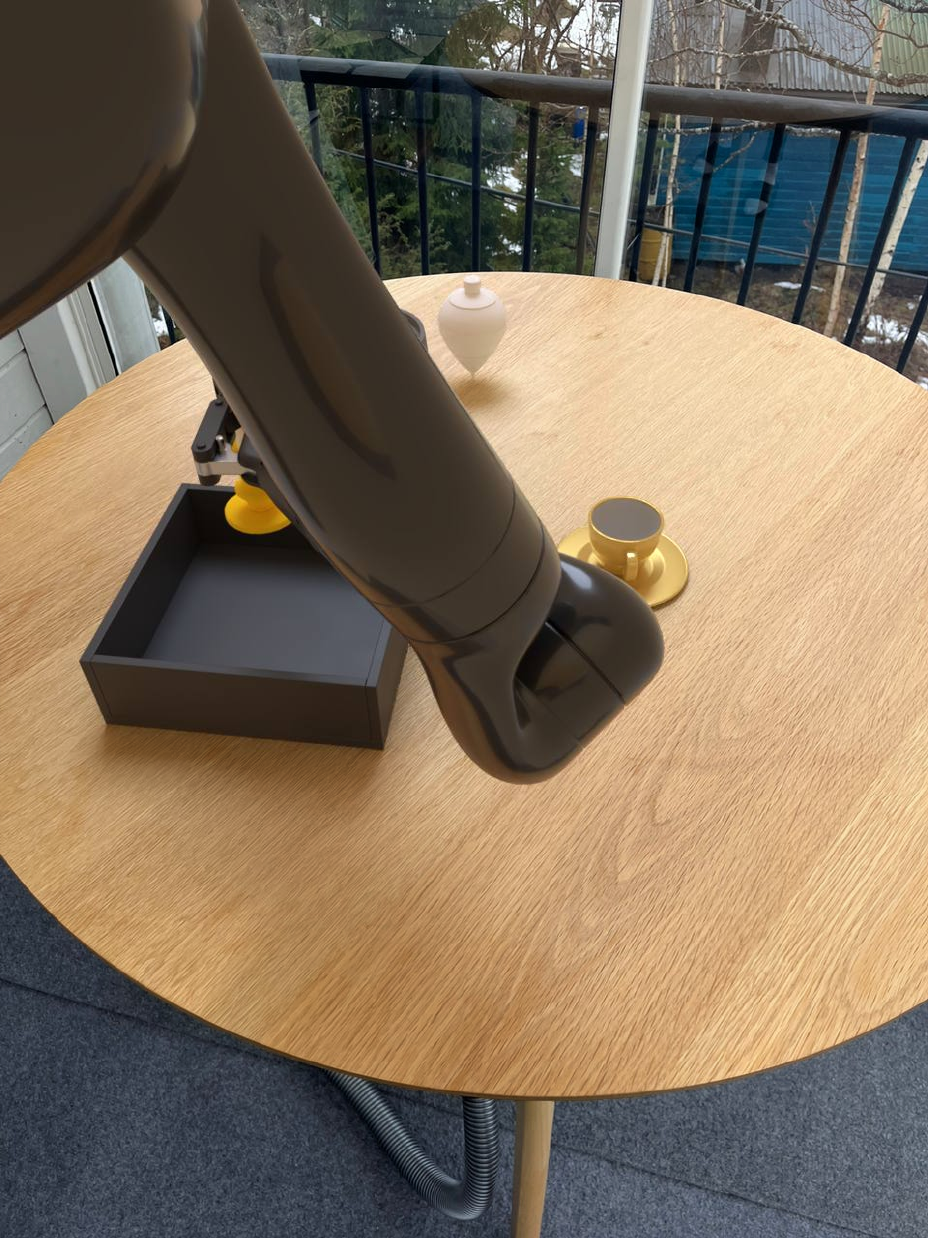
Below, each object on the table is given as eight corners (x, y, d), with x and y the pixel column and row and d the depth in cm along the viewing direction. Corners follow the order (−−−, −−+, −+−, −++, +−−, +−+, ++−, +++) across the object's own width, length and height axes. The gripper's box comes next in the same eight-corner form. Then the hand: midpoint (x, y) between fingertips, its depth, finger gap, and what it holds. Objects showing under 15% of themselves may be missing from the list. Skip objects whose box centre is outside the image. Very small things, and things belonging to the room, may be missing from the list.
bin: (105, 723, 72) (78, 661, 67) (198, 544, 87) (181, 482, 82) (383, 750, 70) (376, 687, 65) (428, 561, 85) (425, 499, 80)
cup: (547, 526, 88) (550, 478, 85) (674, 523, 88) (683, 476, 85) (558, 614, 80) (562, 566, 76) (699, 611, 80) (710, 563, 76)
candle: (278, 481, 69) (241, 275, 59) (313, 516, 66) (280, 305, 55) (213, 507, 67) (162, 298, 56) (246, 544, 64) (198, 330, 53)
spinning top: (443, 361, 111) (440, 261, 102) (507, 363, 110) (510, 263, 102) (436, 395, 105) (432, 293, 97) (504, 398, 105) (506, 295, 96)
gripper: (457, 402, 53) (307, 293, 63) (242, 486, 47) (116, 352, 57) (460, 509, 58) (320, 393, 68) (266, 596, 52) (146, 455, 63)
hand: (227, 374), depth 63 cm, fingers closed
